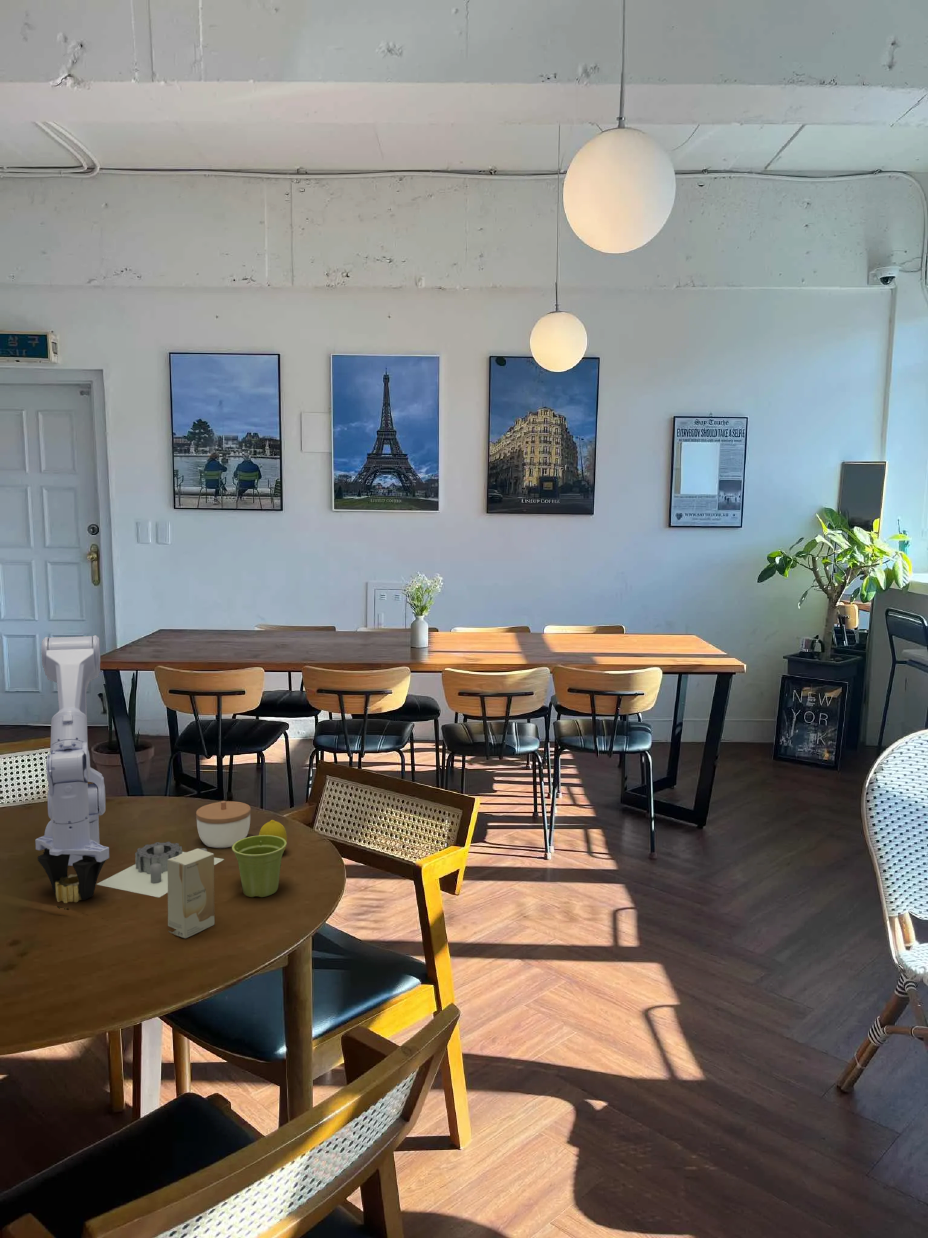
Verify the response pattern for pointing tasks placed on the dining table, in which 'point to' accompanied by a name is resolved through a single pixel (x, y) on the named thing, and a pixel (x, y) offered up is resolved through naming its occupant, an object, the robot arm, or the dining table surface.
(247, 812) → the lidded jar
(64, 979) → the dining table surface
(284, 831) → the lemon
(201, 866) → the skincare box
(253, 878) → the plant pot
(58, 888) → the brass gear
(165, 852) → the gear
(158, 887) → the gear board
